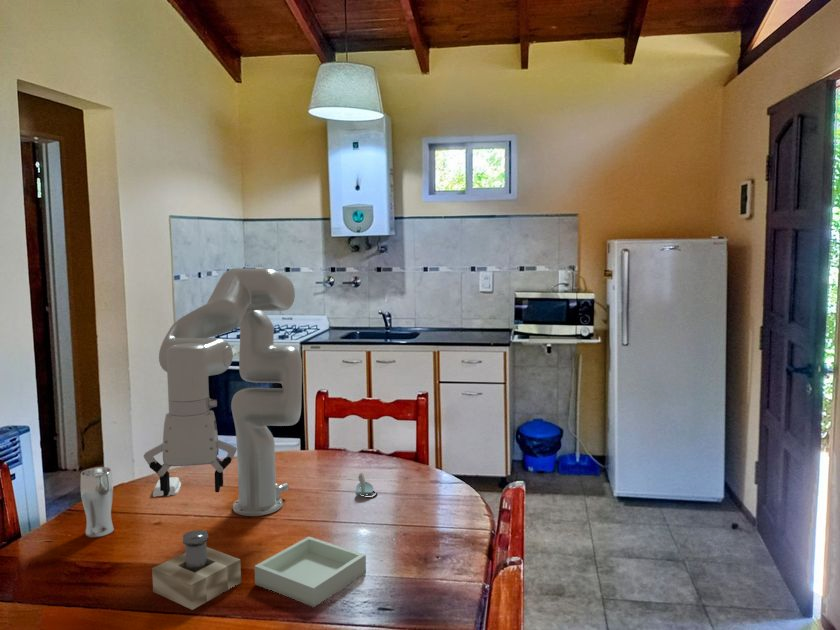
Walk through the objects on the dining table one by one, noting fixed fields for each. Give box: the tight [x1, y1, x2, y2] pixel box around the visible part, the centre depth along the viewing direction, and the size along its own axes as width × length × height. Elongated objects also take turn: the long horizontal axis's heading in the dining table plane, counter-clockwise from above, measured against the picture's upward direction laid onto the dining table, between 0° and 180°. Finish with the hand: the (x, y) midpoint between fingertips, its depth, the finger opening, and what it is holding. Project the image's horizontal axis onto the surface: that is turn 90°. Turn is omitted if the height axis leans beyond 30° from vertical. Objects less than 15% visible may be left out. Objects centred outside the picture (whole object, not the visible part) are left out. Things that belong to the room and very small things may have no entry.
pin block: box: [151, 546, 242, 611], centre depth 135 cm, size 12×12×5 cm
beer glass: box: [80, 466, 115, 538], centre depth 160 cm, size 7×7×15 cm
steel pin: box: [182, 529, 209, 573], centre depth 135 cm, size 5×5×11 cm
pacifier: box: [355, 472, 374, 496], centre depth 183 cm, size 7×6×6 cm
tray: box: [254, 536, 367, 608], centre depth 138 cm, size 16×16×4 cm
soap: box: [152, 476, 182, 498], centre depth 187 cm, size 9×7×3 cm
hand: (192, 491), depth 133 cm, fingers open, 9 cm apart
